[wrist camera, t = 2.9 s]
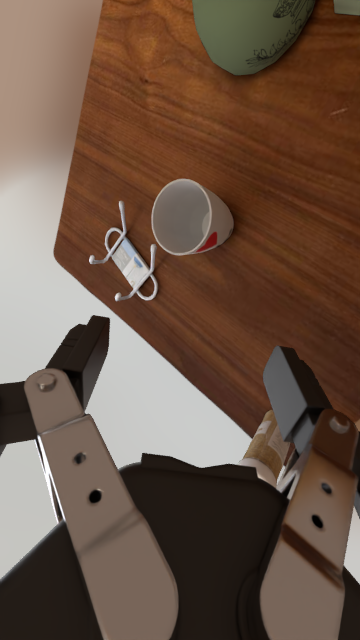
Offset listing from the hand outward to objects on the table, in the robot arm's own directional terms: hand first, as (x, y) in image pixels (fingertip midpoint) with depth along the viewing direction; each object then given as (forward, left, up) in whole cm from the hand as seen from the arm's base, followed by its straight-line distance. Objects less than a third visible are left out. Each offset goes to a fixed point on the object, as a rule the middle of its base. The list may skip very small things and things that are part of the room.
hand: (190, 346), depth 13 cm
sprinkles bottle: (-8, +18, -27) cm, 33 cm away
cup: (+14, -3, -27) cm, 30 cm away
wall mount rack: (+26, +7, -27) cm, 38 cm away
